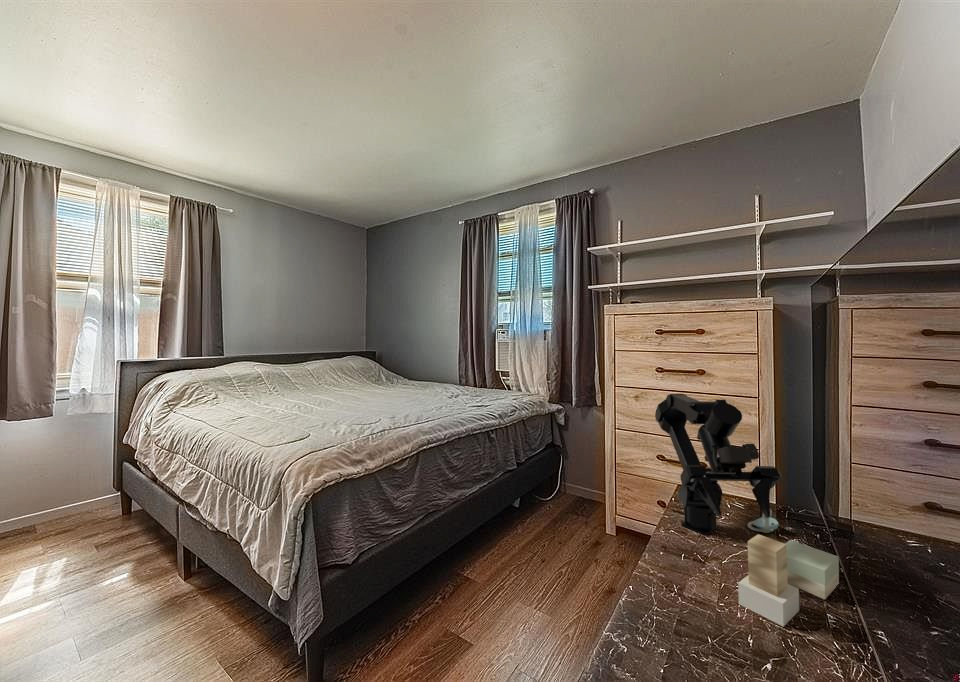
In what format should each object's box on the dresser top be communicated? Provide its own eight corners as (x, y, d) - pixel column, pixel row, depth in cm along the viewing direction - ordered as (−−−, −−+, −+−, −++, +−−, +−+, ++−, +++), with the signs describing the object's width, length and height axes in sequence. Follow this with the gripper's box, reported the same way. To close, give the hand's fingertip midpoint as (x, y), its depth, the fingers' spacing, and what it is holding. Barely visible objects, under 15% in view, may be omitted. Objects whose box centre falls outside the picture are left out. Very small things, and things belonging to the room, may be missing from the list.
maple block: (748, 583, 72) (747, 541, 72) (759, 575, 74) (758, 534, 74) (777, 597, 68) (776, 552, 68) (787, 587, 70) (786, 544, 70)
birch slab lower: (775, 580, 80) (774, 566, 80) (790, 567, 84) (790, 553, 84) (825, 602, 73) (824, 586, 73) (839, 586, 77) (838, 571, 77)
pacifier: (743, 529, 100) (770, 538, 95) (741, 505, 100) (768, 512, 95) (754, 521, 104) (781, 529, 99) (752, 498, 104) (779, 504, 99)
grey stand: (738, 603, 72) (738, 582, 72) (755, 590, 76) (755, 569, 76) (783, 626, 66) (782, 603, 66) (799, 610, 70) (798, 588, 70)
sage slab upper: (775, 566, 80) (774, 551, 80) (790, 553, 84) (790, 539, 84) (825, 586, 73) (824, 570, 73) (838, 571, 77) (838, 556, 77)
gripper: (683, 429, 85) (707, 499, 75) (775, 429, 83) (813, 502, 72) (672, 453, 93) (691, 520, 83) (755, 454, 91) (787, 523, 80)
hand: (743, 516), depth 79 cm, fingers open, 9 cm apart
